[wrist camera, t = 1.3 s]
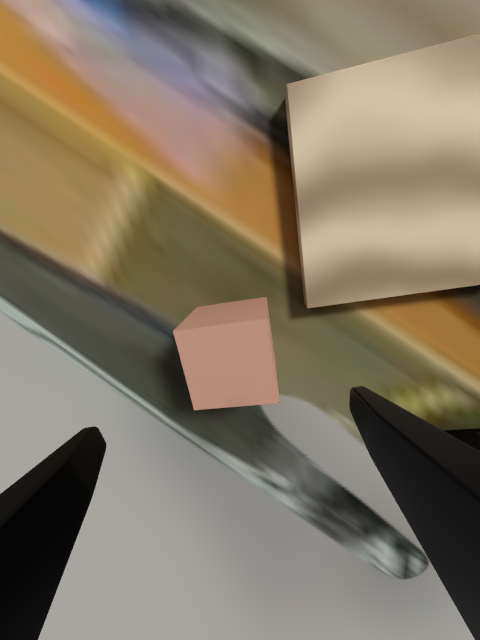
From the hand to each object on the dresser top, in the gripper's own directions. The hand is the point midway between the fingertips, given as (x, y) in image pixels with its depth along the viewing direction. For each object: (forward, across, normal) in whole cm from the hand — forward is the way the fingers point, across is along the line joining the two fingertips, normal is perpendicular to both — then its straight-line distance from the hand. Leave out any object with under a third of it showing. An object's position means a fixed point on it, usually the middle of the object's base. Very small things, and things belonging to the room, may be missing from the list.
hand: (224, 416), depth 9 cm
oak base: (+12, -13, -6) cm, 19 cm away
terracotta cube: (+13, 0, +3) cm, 13 cm away
